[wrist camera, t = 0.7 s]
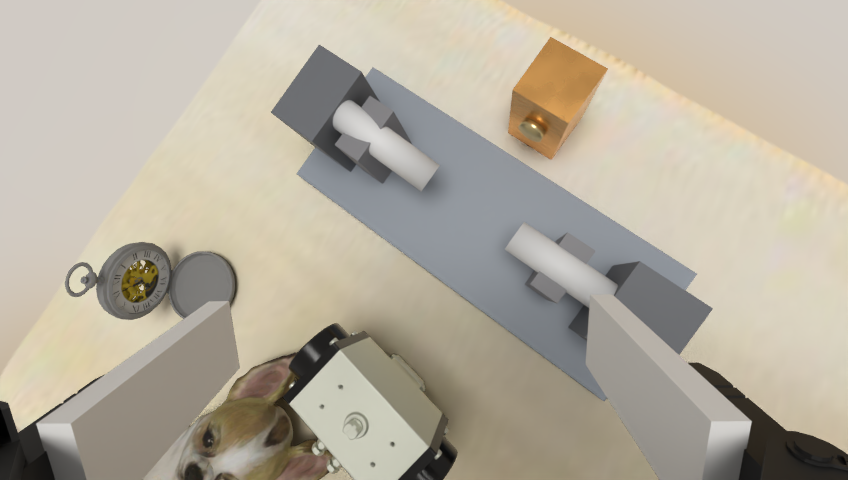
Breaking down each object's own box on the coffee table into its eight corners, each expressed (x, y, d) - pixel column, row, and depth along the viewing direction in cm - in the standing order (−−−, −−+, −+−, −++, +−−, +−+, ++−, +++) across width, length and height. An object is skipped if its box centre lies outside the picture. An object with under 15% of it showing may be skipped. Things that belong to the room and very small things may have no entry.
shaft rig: (690, 274, 32) (767, 270, 23) (600, 398, 32) (642, 441, 23) (375, 72, 38) (340, 8, 29) (301, 176, 38) (244, 144, 29)
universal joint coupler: (542, 85, 35) (556, 28, 28) (586, 111, 35) (614, 60, 27) (503, 139, 35) (506, 98, 28) (546, 166, 35) (562, 131, 27)
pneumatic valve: (369, 313, 36) (309, 327, 24) (467, 413, 33) (453, 484, 22) (327, 358, 36) (247, 394, 24) (421, 461, 34) (383, 557, 22)
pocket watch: (248, 305, 38) (162, 312, 28) (172, 340, 39) (63, 360, 29) (220, 226, 39) (128, 206, 29) (147, 262, 40) (35, 255, 30)
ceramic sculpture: (81, 448, 29) (263, 355, 29) (168, 413, 38) (309, 340, 37) (130, 600, 27) (325, 503, 27) (210, 527, 36) (359, 452, 36)
